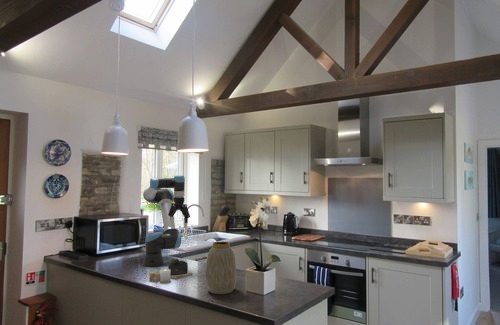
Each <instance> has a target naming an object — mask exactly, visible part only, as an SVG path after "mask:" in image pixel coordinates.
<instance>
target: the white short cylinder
mask: <svg viewBox="0 0 500 325" xmlns="http://www.w3.org/2000/svg"><path fill="white" fill-rule="evenodd" d="M159 272H160V280H159V282H160V283H162V284H165V283H170V282H171V279H170V273H171V270H170V269H168V268H161V269H160V270H159Z"/></svg>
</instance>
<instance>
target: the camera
mask: <svg viewBox="0 0 500 325" xmlns="http://www.w3.org/2000/svg"><path fill="white" fill-rule="evenodd" d="M188 265H189V264H188V261H184V260H179V258H172V260H171V262H170V263H168V267H167V269H170V270H171V273H170V275H177V274H185V273H187V272H189V270H188V269H189V268H188V267H189V266H188Z"/></svg>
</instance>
